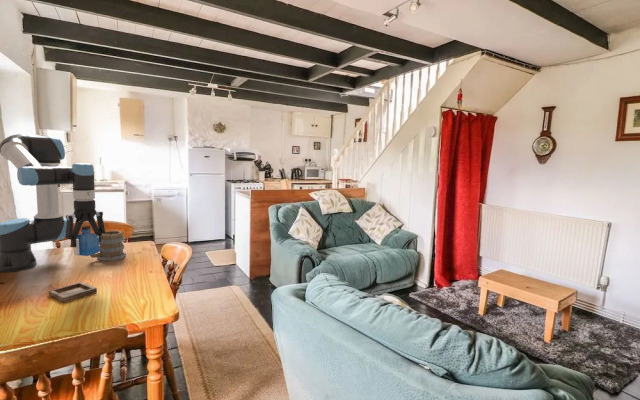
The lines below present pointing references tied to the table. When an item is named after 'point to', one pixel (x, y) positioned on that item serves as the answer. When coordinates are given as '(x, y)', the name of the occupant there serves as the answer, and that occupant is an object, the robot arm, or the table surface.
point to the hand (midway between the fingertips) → (86, 251)
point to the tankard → (110, 246)
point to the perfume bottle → (87, 242)
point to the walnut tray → (72, 292)
